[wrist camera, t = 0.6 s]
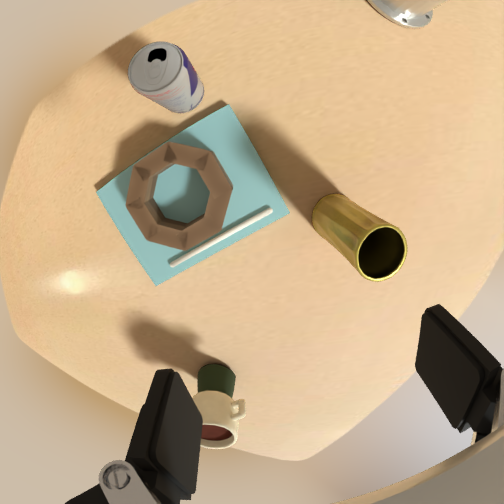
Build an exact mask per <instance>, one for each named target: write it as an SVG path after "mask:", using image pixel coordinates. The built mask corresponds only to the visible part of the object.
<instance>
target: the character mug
mask: <svg viewBox="0 0 504 504" xmlns="http://www.w3.org/2000/svg"><path fill="white" fill-rule="evenodd" d="M235 378H236V376H235V374H234V373H233V372H232V371H231V370H230V369H228V368H227V367H224V366H221V365H218V364H208V365H206V366H204V367H202V368H201V369H200V371H199V372H198V393H197V394H196V395H194V396H193V398H192V399H193V401H194V403H195V404H196V406H197V408H198V410H199V411H200V413H201V415H202V418H203V426H202V435H201V444H200V446H201V447H205V448H209V449H222V448H227V447H230V446H232V445H234V444H235V442H236V441H237V431H238V426H239V421H238V420H239V419H242V418H243V417H245V415H246V403H245V400H244V399H239V400H237V401H234V400H233V399H232V396H233V391H234V385H235ZM238 407H239V411H238Z"/></svg>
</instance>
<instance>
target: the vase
mask: <svg viewBox="0 0 504 504" xmlns="http://www.w3.org/2000/svg"><path fill="white" fill-rule="evenodd" d="M312 223H313V226H314V229H315V230H316V232H317V233H318V234H319V235H320V236H321V237H322V238H324V239H326V240H327V241H328V242H329V243H330V244H331V245H332V246H333V247H335V248H336V249H337V250H338V251H339V252H340V253H341V254H342V255H343V256H344V257H345V258H346V259H347V260H348V261H349V262H350V263H351V264H352V265H353V266H354V267H355V268H356V270H357V271H358V272H359V273H360V275H361V276H362V277H364V278H365V279H367V280H370V281H375V282H378V281H383V280H386V279H389V278H390V277H392V276H393V275H395V274H396V273H397V272H398V271H399V269H400V268H401V267H402V265H403V263H404V261H405V259H406V255H407V242H406V238H405V236H404V234H403V233H402V231H401V230H400V229H399V228H398V227H396V226H394V225H392V224H390V223H388V222H386V221H384V220H383V219H381V218H379V217H377V216H375V215H374V214H372V213H370V212H368V211H367V210H365V209H363V208H362V207H360V206H358V205H357V204H356V203H354V202H353V201H351V200H350V199H348V198H347V197H346V196H344V195H340V194H330V195H327V196H325V197H323V198H322V199H321V200H320V201H319V202H318V203H317V204H316V206H315V207H314V210H313V214H312Z"/></svg>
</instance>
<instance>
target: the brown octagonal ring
mask: <svg viewBox="0 0 504 504" xmlns="http://www.w3.org/2000/svg"><path fill="white" fill-rule="evenodd" d="M174 164H178V165H182V166H186V167H190V168H194V169H197V171H198V172H199V174H200V176H201V177H202V179H203V181H204V183H205V184H206V186H207V188H208V189H209V191H210V195H209V199H208V203H207V207H206V211H205V213H204V214H203V215H201V216H199V217H197V218H196V219H194V220H192V221H191V222H189V223H184V222H180V221H176V220H173V219H169V218H165V216H164V215H163V213H162V211H161V210H160V208H159V207H158V205H157V203H156V202H155V200H154V198H153V196H154V192H155V187H156V182H157V178H158V175H159V174H160V173H162V172H163V171H165V170H166V169H168V168H169V167H171V166H173V165H174ZM232 190H233V184H232V182H231V180H230V179H229V177H228V175H227V174H226V172H225V170H224V168H223V167H222V165H221V163H220V161H219V160H218V158H217V156H216V155H215V153H214V152H213V151H210V150H205V149H201V148H197V147H193V146H188V145H184V144H179V143H174V142H167V143H165V144H163V145H162V146H160V147H159V148H157V149H156V150H154V151H153V152H152V153H150V154H149V155H147V156H146V157H144V158H143V159H141V160H140V161H139V162H137V163H136V164H134V166H133V168H132V173H131V178H130V183H129V188H128V194H127V199H126V205H125V206H126V208H127V210H128V211H129V213H130V215H131V216H132V218H133V220H134V221H135V223H136V225H137V226H138V228H139V229H140V231H141V232H142V234H143V236H144V237H145V239H146V240H147V241H150V242H153V243H157V244H161V245H165V246H168V247H172V248H176V249H179V250H183V251H185V250H186V251H187V250H188V249H190V248H192V247H193V246H195V245H197V244H199V243H201V242H202V241H204V240H206V239H208V238H209V237H211V236H213V235H215V234H217V233H218V232H220V231H221V230H222V226H223V222H224V219H225V215H226V211H227V208H228V204H229V201H230V197H231V193H232Z"/></svg>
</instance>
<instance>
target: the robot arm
mask: <svg viewBox="0 0 504 504" xmlns="http://www.w3.org/2000/svg"><path fill="white" fill-rule="evenodd" d="M367 1H368V2H369V3H370V4H371V5H372V6H373V7H374V8H375V9H376V10H377V11H378V12H379V13H380V14H382V15H383V16H384V17H386V18H387V19H389V20H390V21H392V22H394V23H396V24H398V25H400V26H403V27H407V28H412V29H417V28H422V27H424V26H426V25H428V24H429V23H430V21H431V19H432V15H433V11H432V10H433V9H435V8H436V7H438V6H440V5H441V4H443V3H445V2H447V1H449V0H367ZM415 367H416V371H417V373H418V374H419V375H420V377H421V378H422V380H423V381H424V383H425V384H426V386H427V387H428V389H429V390H430V392H431V393H432V395H433V397H434V398H435V400H436V401H437V403H438V404H439V406H440V407H441V409H442V410H443V412H444V414H445V415H446V417H447V419H448V420H449V422H450V423H451V425H452V427H453V428H455V429H456V428H457V429H458V430H459V432H460V433H461V432H463V431H465V430H467V429H468V428H470V427H471V428H472V429H473V431H474V433H473V437H472V442H471V446H470V447H468V448H466V449H465V450H463V451H461V452H459V453H457V454H456V455H454V456H452V457H450V458H449V459H447V460H445V461H443V462H441V463H439V464H437V465H435V466H433V467H431V468H429V469H427V470H425V471H423V472H421V473H419V474H416V475H414V476H412V477H410V478H407V479H405V480H402V481H400V482H398V483H395V484H392V485H390V486H387V487H384V488H382V489H379V490H376V491H373V492H370V493H367V494H364V495H361V496H357V497H354V498H351V499H347V500H343V501H340V502H336V503H332V504H504V369H502V368H501V364H500V363H499V362H498V361H497V360H496V359H495V358H494V356H493V355H492V354H491V353H489V351H488V350H487V349H486V348H485V347H484V346H483V345H482V344H481V343H480V342H479V341H478V340H477V339H476V338H475V337H474V336H473V335H472V334H471V333H470V332H469V331H468V330H467V329H466V328H465V327H464V326H463V325H462V324H461V323H460V322H458V321H457V320H456V319H455V318H454V317H453V316H452V315H451V314H450V313H449V312H448V311H447V310H446V309H445V308H444V307H442V306H441V305H440V304H437V305H435V306H432V307H429V308H427V309H426V310H425V313H424V314H423V315H422V320H421V328H420V336H419V343H418V350H417V356H416V362H415ZM202 426H203V418H202V415H201V413H200V411H199V410H198V408H197V406H196V404H195V403H194V401H193V399H192V397H191V395H190V394H189V392H188V390H187V388H186V386H185V384H184V382H183V380H182V379H181V377H180V375H179V373H178V372H174V370H173V369H162V370H157V371H156V372H155V375H154V378H153V381H152V384H151V387H150V390H149V393H148V396H147V399H146V402H145V404H144V405H143V406H142V408H141V411H140V414H139V417H138V420H137V423H136V426H135V430H134V433H133V436H132V439H131V442H130V446H129V449H128V452H127V456H126V459H125V461H122V460H116V461H112V462H110V463H108V464H106V465H105V466H104V467H103V468H102V470H101V472H100V474H99V483H100V484H98V485H96V486H94V487H93V488H91V489H89V490H87V491H86V492H84V493H82V494H80V495H78V496H76V497H74V498H73V499H71V500H69V501H67V502H66V503H65V504H180V500H191V494H194V493H195V491H196V482H197V472H198V463H199V452H200V444H201V435H202Z"/></svg>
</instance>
